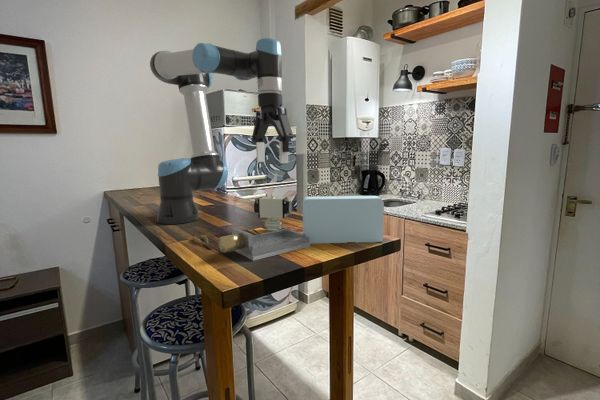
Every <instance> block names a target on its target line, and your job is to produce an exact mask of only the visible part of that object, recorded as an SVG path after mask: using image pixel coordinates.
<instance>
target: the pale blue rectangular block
mask: <svg viewBox="0 0 600 400" xmlns="http://www.w3.org/2000/svg"><path fill="white" fill-rule="evenodd" d="M384 207H385V202H384V200H383V199H382V198H380V197H379V196H377V195H344V196H343V195H341V196H339V195H334V196H333V195H332V196H329V195H328V196H325V195H324V196H305V197H304V198H303V200H302V233H303V234H306V236H307V237H309V243H310V245H311V244H341V243H342V244H343V243H344V244H347V242H356V243H381V242H382V241H383V240H384V216H385V214H384V213H385V210H384Z"/></svg>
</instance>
